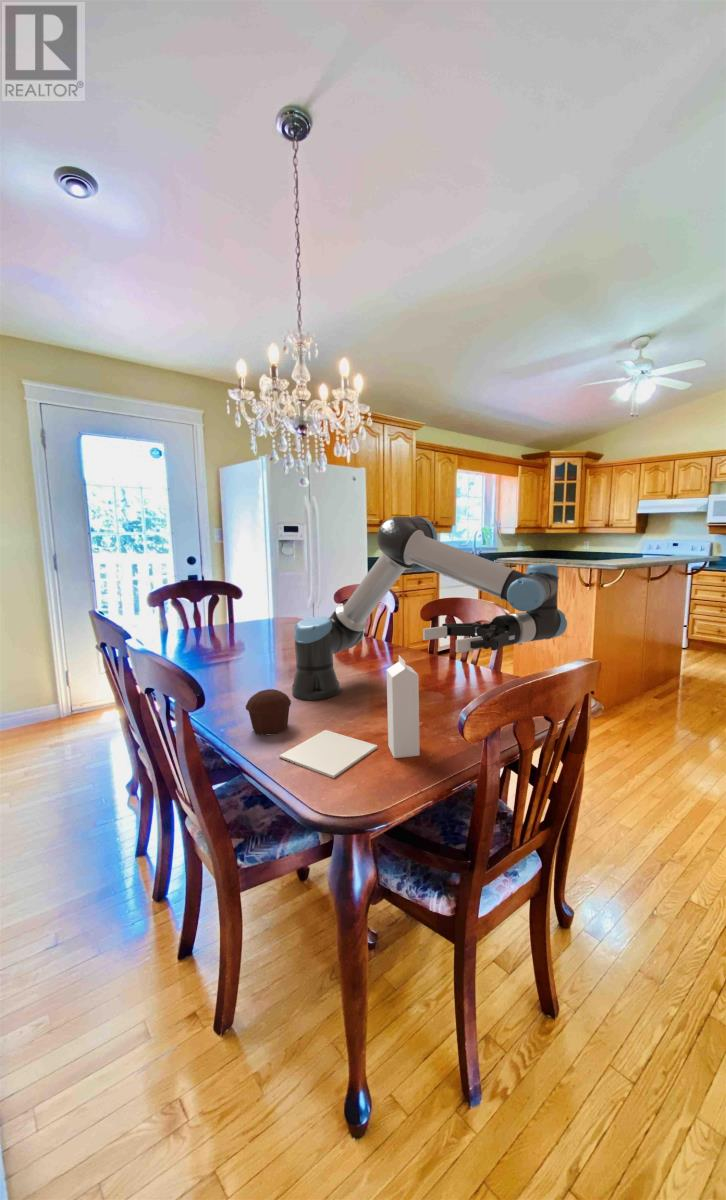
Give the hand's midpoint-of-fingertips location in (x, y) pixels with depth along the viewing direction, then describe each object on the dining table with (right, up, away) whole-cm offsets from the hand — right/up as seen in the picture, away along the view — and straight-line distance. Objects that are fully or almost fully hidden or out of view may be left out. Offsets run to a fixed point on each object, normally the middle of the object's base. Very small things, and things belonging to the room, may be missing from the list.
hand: (439, 640), depth 106 cm
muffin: (-42, -25, +15) cm, 51 cm away
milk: (-8, -26, 0) cm, 27 cm away
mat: (-25, -26, 0) cm, 36 cm away
